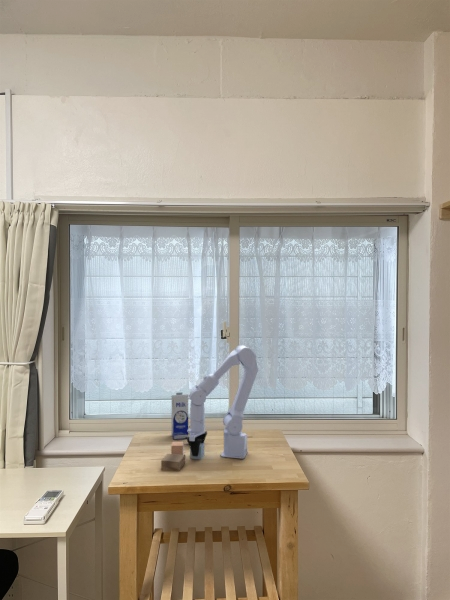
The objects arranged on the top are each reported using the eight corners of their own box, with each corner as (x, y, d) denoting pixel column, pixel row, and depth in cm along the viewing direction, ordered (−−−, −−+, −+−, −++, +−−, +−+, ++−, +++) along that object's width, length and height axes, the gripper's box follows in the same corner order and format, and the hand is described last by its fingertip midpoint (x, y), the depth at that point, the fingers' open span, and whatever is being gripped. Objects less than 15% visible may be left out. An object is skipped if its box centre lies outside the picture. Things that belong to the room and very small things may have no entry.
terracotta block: (183, 453, 174) (183, 441, 174) (182, 458, 169) (182, 445, 169) (172, 454, 174) (172, 441, 174) (171, 458, 169) (171, 445, 169)
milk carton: (172, 439, 191) (172, 395, 190) (171, 434, 197) (171, 391, 197) (188, 438, 192) (188, 394, 192) (186, 433, 199) (186, 390, 199)
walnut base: (184, 464, 164) (184, 455, 164) (179, 471, 157) (179, 461, 157) (167, 462, 166) (167, 453, 166) (161, 469, 159) (161, 460, 159)
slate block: (204, 455, 172) (204, 443, 172) (201, 459, 168) (201, 447, 168) (193, 454, 173) (193, 442, 173) (190, 458, 169) (190, 446, 169)
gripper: (193, 413, 179) (193, 446, 179) (181, 423, 164) (181, 459, 165) (209, 414, 177) (209, 447, 177) (199, 425, 163) (199, 460, 163)
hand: (197, 453), depth 171 cm, fingers open, 5 cm apart
